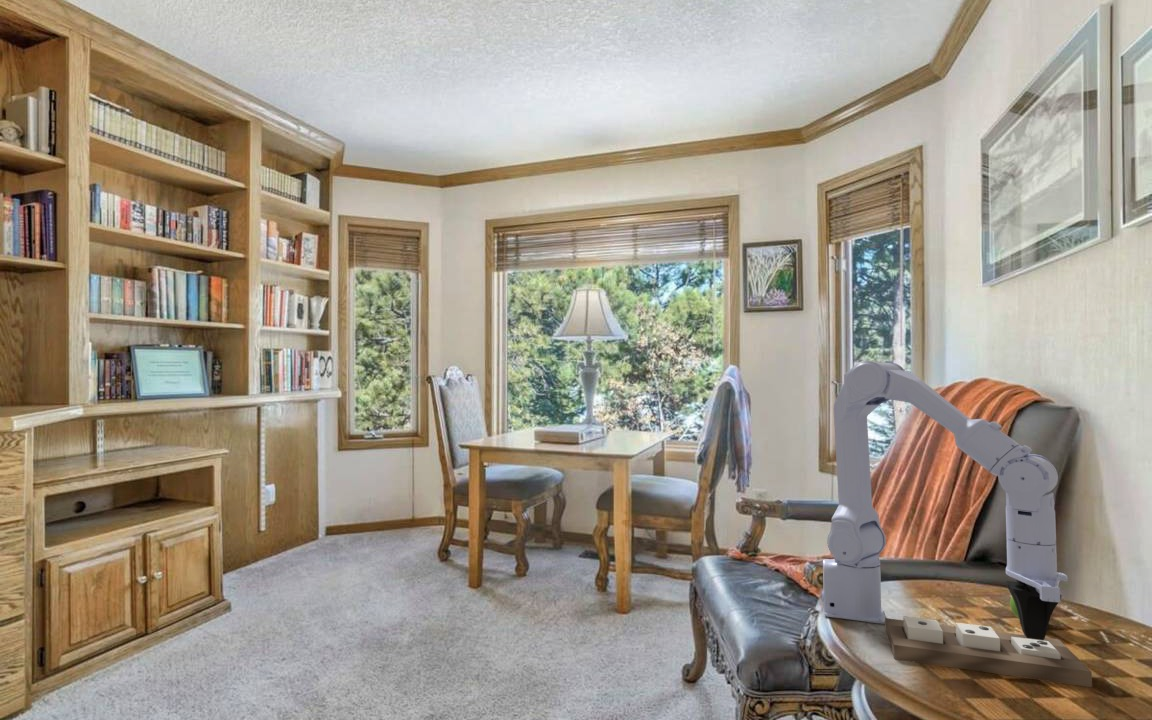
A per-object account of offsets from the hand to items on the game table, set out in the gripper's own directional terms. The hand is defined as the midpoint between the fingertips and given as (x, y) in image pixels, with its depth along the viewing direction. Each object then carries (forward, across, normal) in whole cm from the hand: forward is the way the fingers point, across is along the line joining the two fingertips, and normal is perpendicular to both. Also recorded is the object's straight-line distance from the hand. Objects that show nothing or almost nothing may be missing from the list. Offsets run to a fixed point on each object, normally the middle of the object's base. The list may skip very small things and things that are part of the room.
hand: (1033, 637), depth 85 cm
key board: (+4, 0, +7) cm, 8 cm away
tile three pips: (+4, 0, 0) cm, 4 cm away
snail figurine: (+4, +18, -5) cm, 19 cm away
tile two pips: (+2, 0, +7) cm, 7 cm away
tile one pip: (+2, 0, +14) cm, 14 cm away
